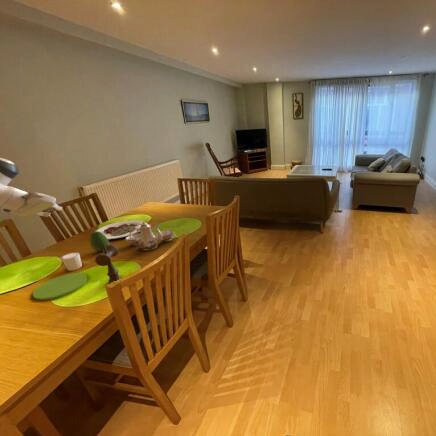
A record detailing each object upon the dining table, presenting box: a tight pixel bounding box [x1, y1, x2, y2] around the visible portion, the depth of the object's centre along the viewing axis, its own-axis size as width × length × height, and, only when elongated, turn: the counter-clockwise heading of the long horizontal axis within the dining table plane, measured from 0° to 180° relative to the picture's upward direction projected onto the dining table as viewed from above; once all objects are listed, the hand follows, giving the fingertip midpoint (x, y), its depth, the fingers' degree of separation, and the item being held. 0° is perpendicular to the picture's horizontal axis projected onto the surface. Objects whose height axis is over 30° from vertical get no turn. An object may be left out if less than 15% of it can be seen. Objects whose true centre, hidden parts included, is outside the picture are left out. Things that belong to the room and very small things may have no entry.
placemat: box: [32, 272, 88, 301], centre depth 107 cm, size 18×18×1 cm
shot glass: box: [60, 251, 83, 272], centre depth 120 cm, size 7×7×7 cm
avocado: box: [90, 230, 110, 252], centre depth 135 cm, size 8×8×12 cm
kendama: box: [95, 243, 123, 284], centre depth 107 cm, size 6×10×20 cm, turn 17°
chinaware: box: [123, 221, 177, 252], centre depth 141 cm, size 28×17×17 cm, turn 113°
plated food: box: [94, 219, 147, 240], centre depth 161 cm, size 30×30×3 cm
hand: (55, 212), depth 115 cm, fingers open, 8 cm apart
